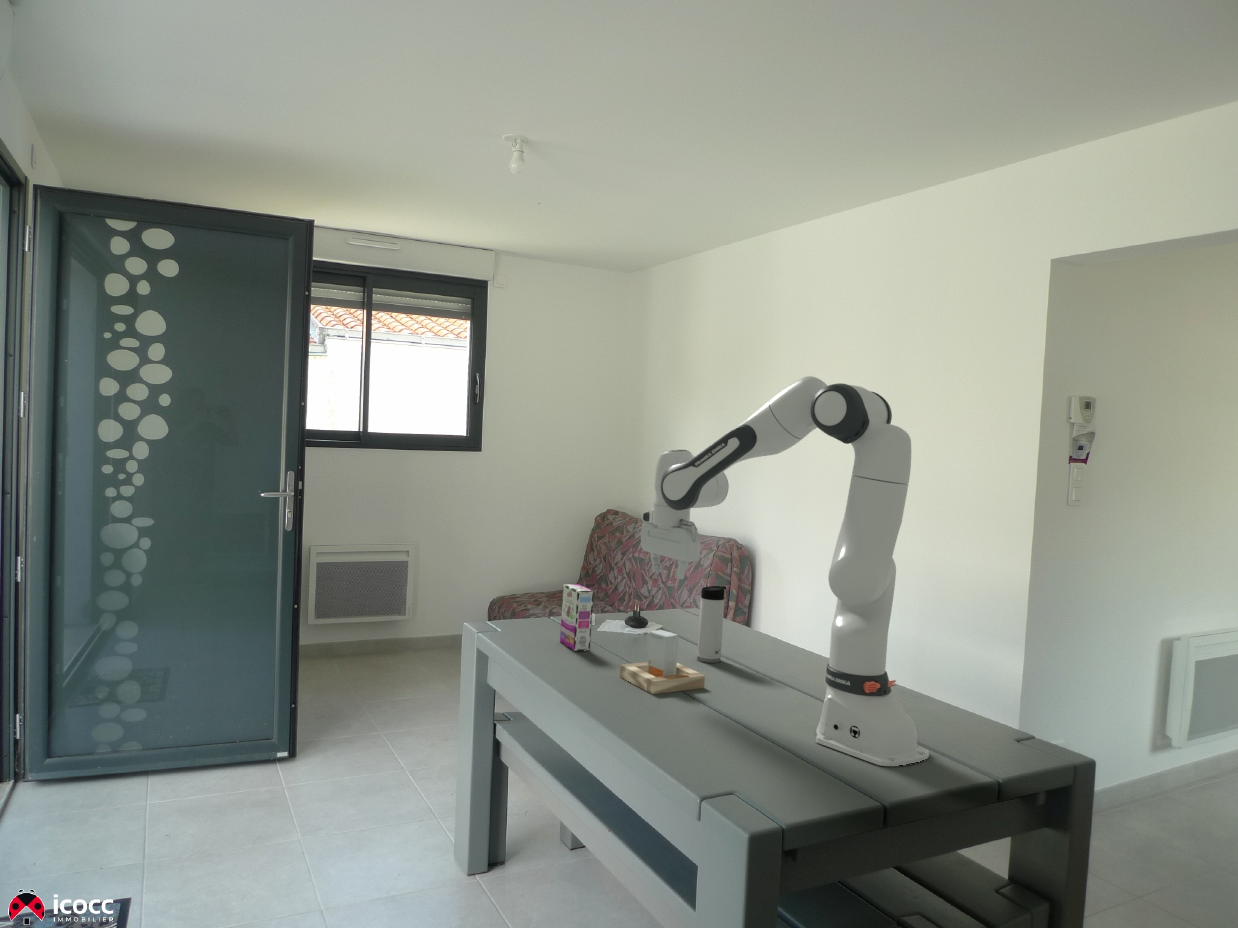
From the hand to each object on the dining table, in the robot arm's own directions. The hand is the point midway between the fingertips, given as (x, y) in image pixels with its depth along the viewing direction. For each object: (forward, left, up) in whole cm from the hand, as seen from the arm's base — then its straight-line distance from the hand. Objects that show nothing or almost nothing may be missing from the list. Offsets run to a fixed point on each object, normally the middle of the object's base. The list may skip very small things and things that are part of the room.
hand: (668, 575), depth 204 cm
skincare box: (0, 0, -26) cm, 26 cm away
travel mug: (+13, -24, -26) cm, 38 cm away
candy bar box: (+37, +4, -26) cm, 46 cm away
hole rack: (0, 0, -26) cm, 26 cm away
